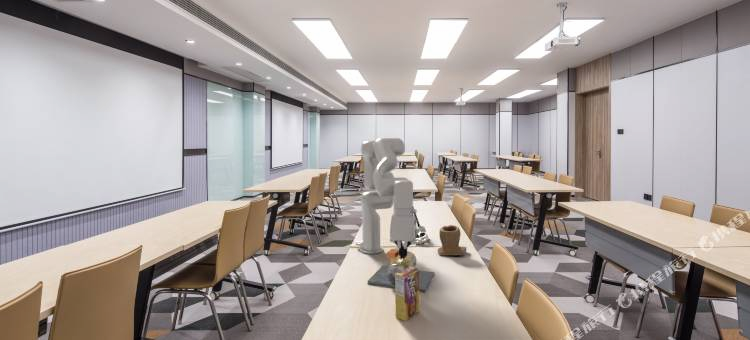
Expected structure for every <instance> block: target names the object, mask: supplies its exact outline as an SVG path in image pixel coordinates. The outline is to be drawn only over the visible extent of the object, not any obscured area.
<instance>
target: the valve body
mask: <svg viewBox="0 0 750 340" xmlns="http://www.w3.org/2000/svg"><path fill="white" fill-rule="evenodd" d="M389 259H390V260H389V261H390V262H389V263H390V264H389V265H382V266H381V267H379V268H378V270H377V271H376V272H375V273H374V274H373V275H372V276H371V277H370V278H369V279H368V280H367V285H372V286H373V285H374V286H379V287H385V288H386V287H387V288H392V289H395V274H396V273H398V272H400V271H402V270H404V269H406V268H408V267H414V268H415V266H416V265H417V261H418V260H417V257H416V255H415V253H413V252H412V251H410V250H407V256H406V257H405V258H404V259H403V258H402V259H401V258H400V255H399V256H398V257H396V258H395V259H392V258H389ZM435 274H436V273H435V271H428V270H421V269H419V293H424V294H425V293H426V292H427V290H428V288H429V286H430V284H431V282H432V280H433V279H434V276H435Z"/></svg>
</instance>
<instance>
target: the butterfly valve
mask: <svg viewBox="0 0 750 340" xmlns="http://www.w3.org/2000/svg"><path fill="white" fill-rule="evenodd" d="M413 208H414V206H413ZM414 209H415V208H414ZM413 215H415V218H416V226H417V238H416V241H417V243H416V244H415V245H417V244H421V245H422V244H423V243H424V242H427V241H428V240H429V236H428V233H427V229H426V227H424V226H422V225H421V224H420V221H419V218H418V217H417V212H416V213H413Z"/></svg>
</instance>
